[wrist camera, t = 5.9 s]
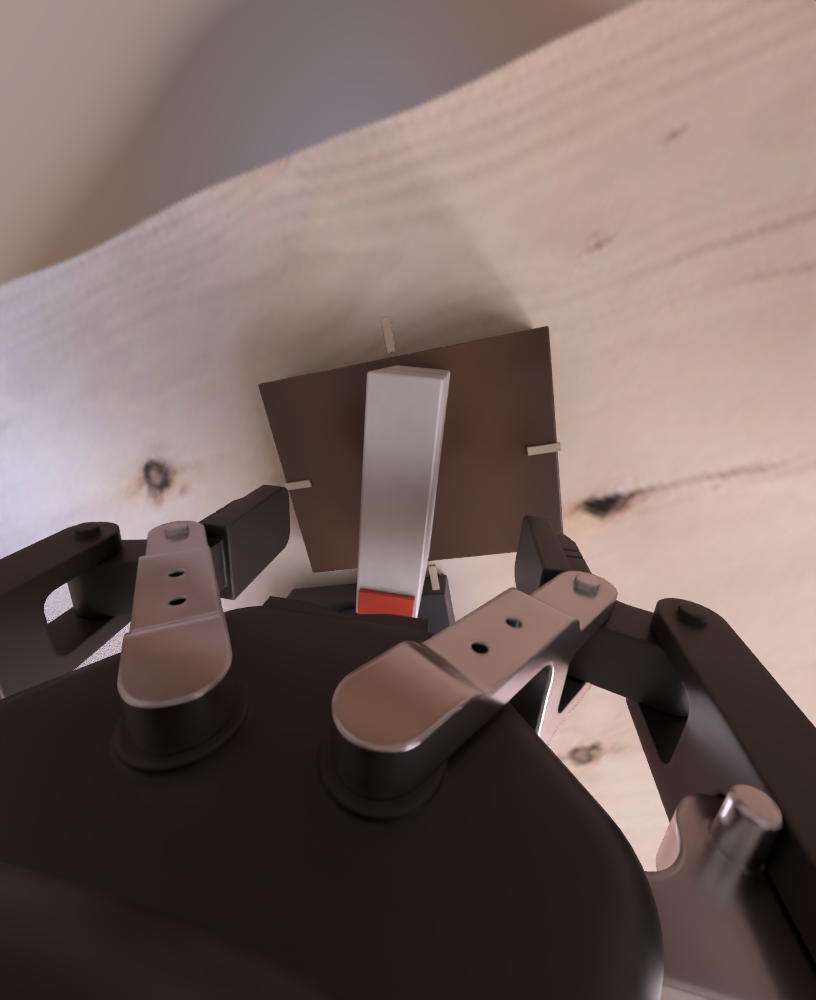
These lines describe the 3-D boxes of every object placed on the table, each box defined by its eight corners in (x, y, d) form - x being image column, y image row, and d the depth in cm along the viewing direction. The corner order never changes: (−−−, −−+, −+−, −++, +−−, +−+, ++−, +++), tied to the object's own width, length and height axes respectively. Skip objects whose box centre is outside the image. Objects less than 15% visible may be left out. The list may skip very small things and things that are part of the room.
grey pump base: (446, 574, 24) (442, 615, 21) (465, 680, 27) (464, 733, 23) (292, 589, 26) (263, 628, 23) (323, 687, 29) (302, 737, 25)
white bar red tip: (395, 364, 18) (364, 371, 12) (450, 370, 17) (443, 379, 12) (382, 549, 21) (353, 617, 16) (428, 555, 21) (415, 627, 15)
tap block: (536, 291, 19) (549, 280, 16) (556, 548, 23) (569, 578, 20) (273, 348, 21) (242, 348, 18) (334, 571, 25) (317, 600, 22)
